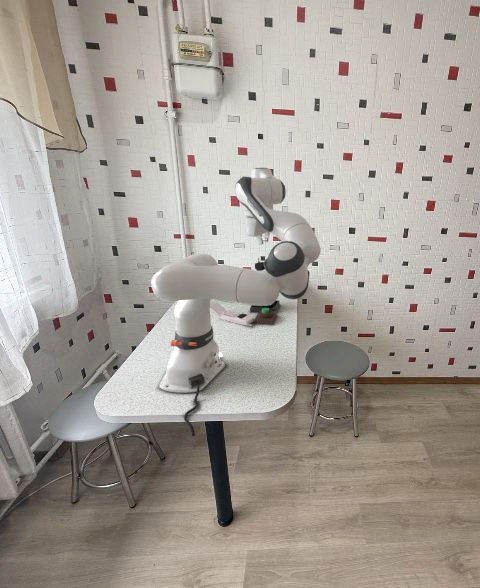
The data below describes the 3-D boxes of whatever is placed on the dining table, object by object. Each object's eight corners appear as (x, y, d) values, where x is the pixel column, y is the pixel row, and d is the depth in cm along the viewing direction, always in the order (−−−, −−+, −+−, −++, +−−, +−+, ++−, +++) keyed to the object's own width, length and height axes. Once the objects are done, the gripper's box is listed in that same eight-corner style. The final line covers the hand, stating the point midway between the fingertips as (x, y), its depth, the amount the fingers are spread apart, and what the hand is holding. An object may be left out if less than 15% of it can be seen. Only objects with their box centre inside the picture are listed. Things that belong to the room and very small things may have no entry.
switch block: (271, 325, 149) (271, 317, 147) (254, 323, 149) (253, 315, 147) (276, 315, 158) (276, 307, 156) (259, 314, 158) (259, 306, 157)
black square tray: (275, 313, 159) (275, 309, 158) (250, 312, 160) (250, 307, 159) (279, 305, 169) (279, 300, 168) (255, 303, 170) (255, 299, 169)
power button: (268, 314, 150) (268, 310, 150) (261, 313, 150) (261, 310, 150) (269, 311, 153) (269, 307, 153) (262, 310, 153) (262, 307, 153)
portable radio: (275, 308, 163) (274, 260, 154) (264, 311, 160) (262, 262, 150) (266, 303, 169) (265, 256, 160) (256, 306, 165) (254, 258, 156)
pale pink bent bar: (214, 300, 157) (258, 310, 148) (215, 311, 159) (258, 322, 150) (205, 304, 152) (249, 316, 142) (206, 316, 154) (250, 328, 145)
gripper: (267, 206, 145) (268, 237, 150) (242, 212, 127) (244, 247, 132) (280, 207, 143) (280, 239, 148) (256, 213, 125) (258, 249, 130)
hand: (263, 243), depth 140 cm, fingers open, 3 cm apart
